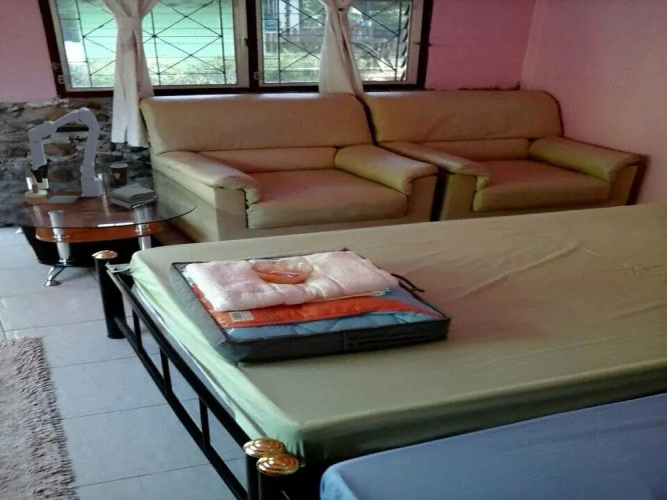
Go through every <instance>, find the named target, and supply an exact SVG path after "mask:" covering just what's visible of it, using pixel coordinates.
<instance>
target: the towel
mask: <svg viewBox="0 0 667 500" xmlns="http://www.w3.org/2000/svg"><path fill="white" fill-rule="evenodd" d="M109 196H110V197H111V198H110V202H111V203H112V204H115V205H117V206H120V207H123V208H126V209H129V210H130V209H131V210H132V208H133V207H134V206H137V205H142V206H145V205H148V204H151V203H154V202H156V201H157V199H158V197H157V194H156V190H154V189H150V188H145V187H144V186H142V185H141V184H140V183H138V182H136V183H132V184H129V185H126V186H122V187H119V188H115V189H112V191H111V192H110V193H109ZM144 204H145V205H144ZM133 209H134V208H133Z"/></svg>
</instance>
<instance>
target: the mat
mask: <svg viewBox="0 0 667 500" xmlns="http://www.w3.org/2000/svg"><path fill="white" fill-rule="evenodd" d="M79 197H80V195H52V196H51V197H50V198H49V199H48V200H46V202H45V204H73V203H74V202H75V201H76V200H77V199H79Z"/></svg>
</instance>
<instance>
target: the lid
mask: <svg viewBox="0 0 667 500" xmlns="http://www.w3.org/2000/svg"><path fill="white" fill-rule="evenodd" d="M31 189H32V190H29V191H25V192H24V197H25V198H26V197H29V198H37V197H43V196H45V195H46V196H47V195H48V191H47V190H46V189H38V185H37V184H34V183H33V184H31Z"/></svg>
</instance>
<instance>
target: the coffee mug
mask: <svg viewBox="0 0 667 500" xmlns="http://www.w3.org/2000/svg"><path fill="white" fill-rule="evenodd" d="M108 169H110V170H111V173H112V174H110V173H109V172H108ZM105 172H106V173H107V175H109V176H110V177H112V178H113V181H114V184H115V185H116V186H123V185H127V184H128V164H125V163H116V164H112V165H110V167H106V168H105Z"/></svg>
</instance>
